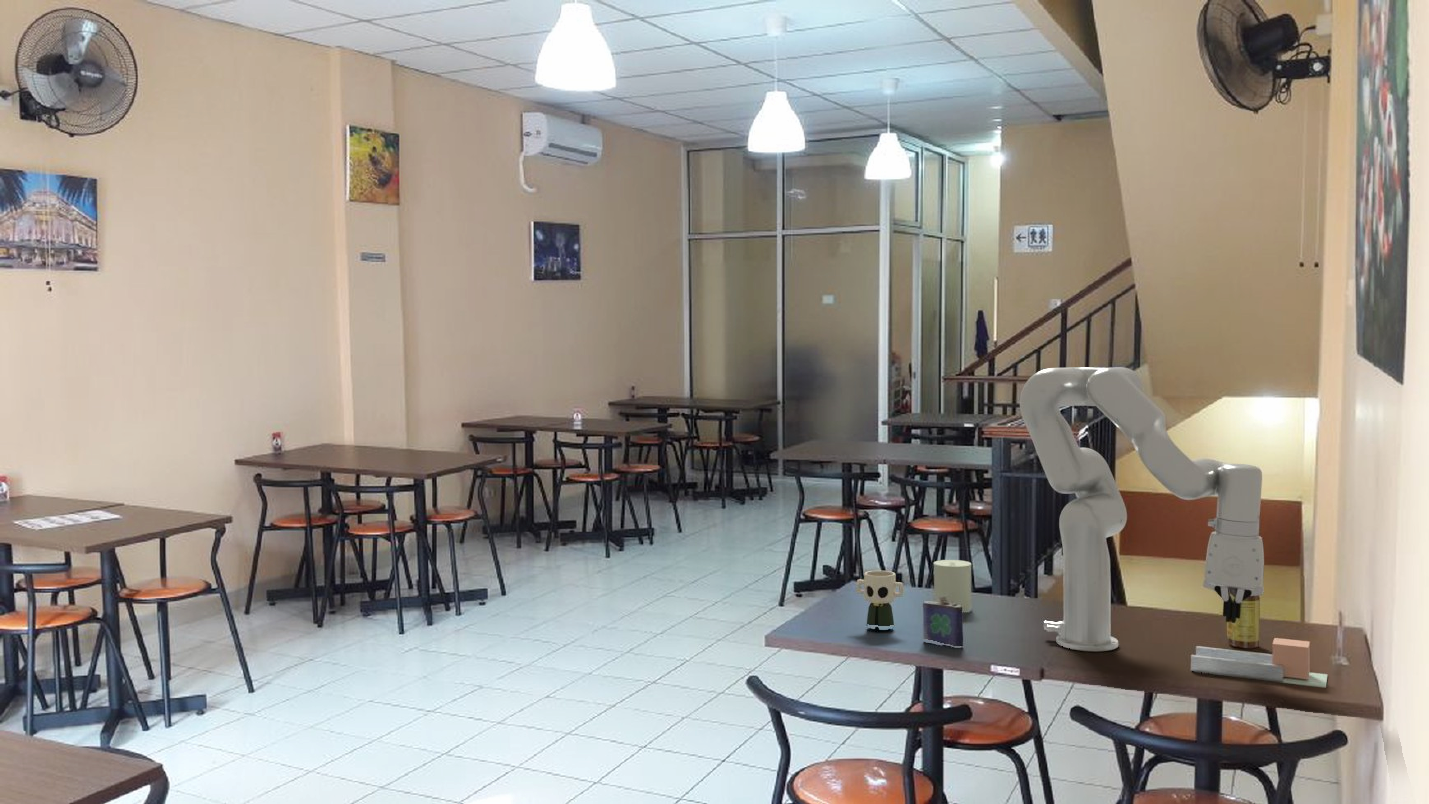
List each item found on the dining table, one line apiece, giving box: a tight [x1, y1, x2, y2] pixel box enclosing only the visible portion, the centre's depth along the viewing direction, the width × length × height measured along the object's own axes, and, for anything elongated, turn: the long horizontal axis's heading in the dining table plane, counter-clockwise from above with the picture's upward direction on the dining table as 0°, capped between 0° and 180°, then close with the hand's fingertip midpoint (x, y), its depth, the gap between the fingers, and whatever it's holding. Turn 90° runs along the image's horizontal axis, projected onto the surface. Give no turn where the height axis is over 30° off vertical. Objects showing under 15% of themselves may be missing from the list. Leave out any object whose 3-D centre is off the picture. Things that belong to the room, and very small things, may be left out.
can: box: [933, 559, 973, 611], centre depth 269 cm, size 9×9×12 cm
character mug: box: [856, 570, 904, 626], centre depth 250 cm, size 11×7×13 cm, turn 65°
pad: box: [1283, 672, 1328, 689], centre depth 207 cm, size 7×9×1 cm
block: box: [1271, 637, 1311, 679], centre depth 208 cm, size 6×5×6 cm
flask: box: [922, 595, 964, 647], centre depth 236 cm, size 9×3×11 cm, turn 50°
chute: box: [1190, 645, 1284, 684], centre depth 213 cm, size 16×9×3 cm, turn 59°
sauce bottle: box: [1226, 587, 1261, 650], centre depth 231 cm, size 6×6×20 cm
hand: (1231, 620), depth 214 cm, fingers closed
